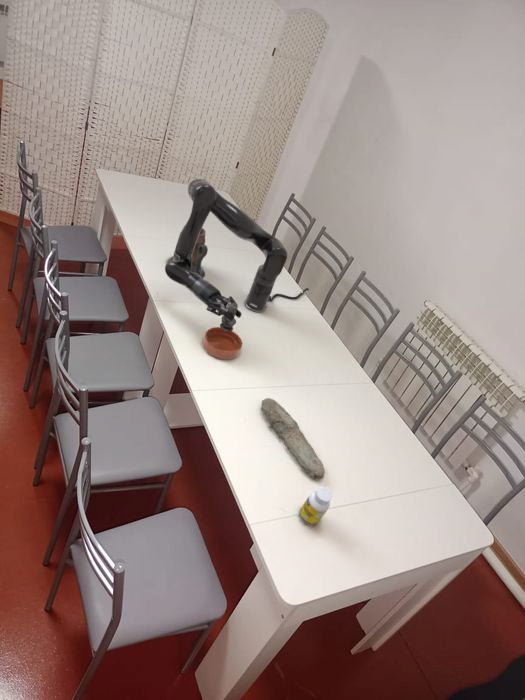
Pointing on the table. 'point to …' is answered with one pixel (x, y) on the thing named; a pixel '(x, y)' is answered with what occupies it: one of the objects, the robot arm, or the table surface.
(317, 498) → the pill bottle
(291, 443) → the long grey stone
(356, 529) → the table surface
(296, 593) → the table surface
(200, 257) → the tankard
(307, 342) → the table surface
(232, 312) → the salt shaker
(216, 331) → the bowl
